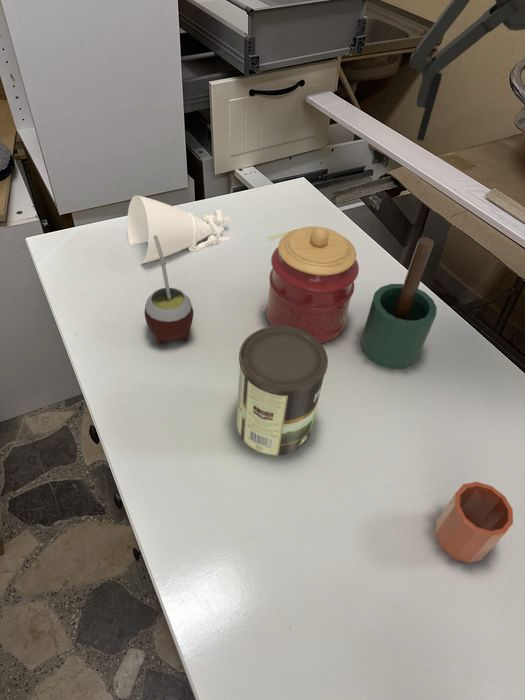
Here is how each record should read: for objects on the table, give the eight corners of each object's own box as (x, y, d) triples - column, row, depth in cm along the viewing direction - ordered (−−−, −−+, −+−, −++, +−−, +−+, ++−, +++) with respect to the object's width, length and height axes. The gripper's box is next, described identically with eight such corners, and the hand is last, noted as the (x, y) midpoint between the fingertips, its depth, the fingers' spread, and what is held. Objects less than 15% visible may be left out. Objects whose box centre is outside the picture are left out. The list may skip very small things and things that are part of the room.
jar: (419, 340, 84) (438, 292, 77) (413, 379, 78) (434, 332, 71) (364, 326, 86) (378, 277, 79) (354, 364, 80) (369, 315, 73)
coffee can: (308, 398, 74) (323, 326, 64) (314, 461, 67) (332, 391, 57) (235, 396, 74) (239, 323, 64) (234, 459, 67) (238, 388, 57)
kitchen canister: (341, 298, 90) (362, 207, 78) (347, 352, 81) (372, 260, 69) (266, 292, 90) (275, 200, 77) (264, 346, 81) (273, 252, 68)
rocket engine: (238, 188, 95) (141, 184, 86) (249, 250, 94) (153, 253, 85) (212, 210, 105) (123, 209, 96) (222, 267, 104) (133, 271, 95)
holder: (484, 524, 63) (512, 491, 57) (484, 572, 59) (514, 542, 53) (434, 509, 64) (456, 475, 58) (430, 556, 60) (454, 524, 54)
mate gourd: (177, 360, 78) (172, 281, 67) (133, 341, 80) (121, 261, 69) (204, 331, 82) (202, 252, 72) (162, 313, 85) (155, 234, 74)
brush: (401, 344, 83) (441, 237, 68) (398, 360, 80) (439, 252, 66) (378, 338, 83) (413, 230, 69) (375, 354, 81) (410, 245, 66)
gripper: (420, -106, 45) (368, 139, 60) (742, -70, 41) (599, 183, 56) (426, -113, 50) (377, 115, 65) (713, -81, 46) (589, 153, 61)
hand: (480, 147), depth 60 cm, fingers open, 13 cm apart
